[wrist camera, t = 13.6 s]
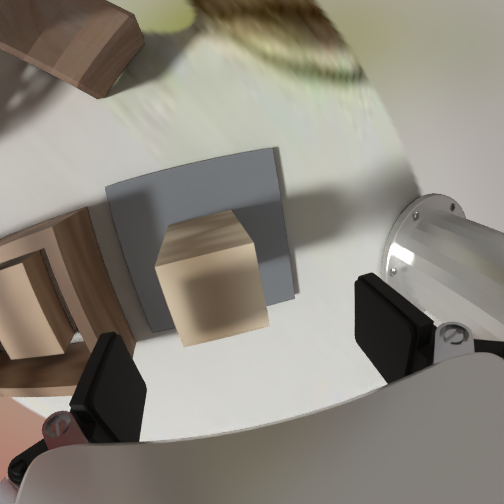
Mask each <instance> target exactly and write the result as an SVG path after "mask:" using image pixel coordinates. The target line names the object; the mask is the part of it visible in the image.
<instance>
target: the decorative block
mask: <svg viewBox="0 0 504 504" xmlns="http://www.w3.org/2000/svg"><path fill="white" fill-rule="evenodd" d="M144 44H145V43H144V37H143V35H142V32H141V30H140V28H139V25H138V23H137V20H136V18H135V15H134V14H132V13H130V12H128V11H127V10H124V9H122V8H121V7H119V6H116V5H115V4H112V3H110V2H108V1H106V0H0V49H1V50H3V51H5V52H7V53H9V54H11V55H14V56H16V57H18V58H20V59H22V60H24V61H26V62H28V63H30V64H32V65H34V66H36V67H38V68H40V69H42V70H44V71H46V72H48V73H50V74H52V75H54V76H56V77H57V78H59V79H61V80H63V81H65V82H67V83H69V84H71V85H72V86H74V87H76V88H78V89H80V90H82V91H84V92H85V93H87V94H89V95H91V96H93V97H94V98H96V99H101V98H104V97H105V96H106V94H107V93H108V91H109V90H110V88H111V87H112V85H113V84H114V83H115V81H116V80H117V78H118V77H119V76H120V74H121V73H122V72H123V70H124V69H125V68H126V66H127V65H128V64H129V62H130V61H131V60H132V59H133V57H134V56H135V55H136V54H137V52H138V51H139V50H140V49H141V47H142V46H143V45H144Z"/></svg>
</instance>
